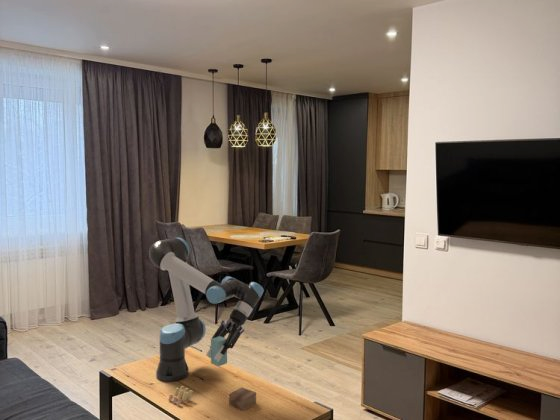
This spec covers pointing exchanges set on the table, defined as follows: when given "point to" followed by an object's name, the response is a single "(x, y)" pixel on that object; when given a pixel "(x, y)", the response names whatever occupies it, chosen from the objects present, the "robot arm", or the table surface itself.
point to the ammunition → (181, 395)
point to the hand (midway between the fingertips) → (212, 358)
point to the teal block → (215, 347)
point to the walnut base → (242, 398)
